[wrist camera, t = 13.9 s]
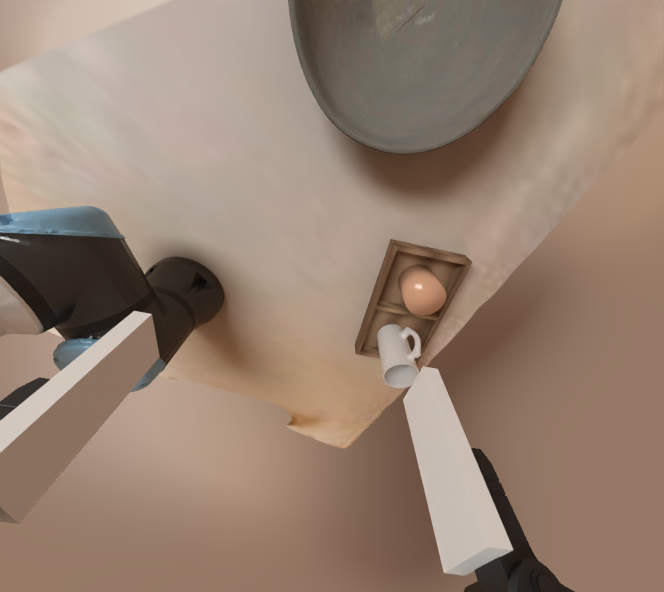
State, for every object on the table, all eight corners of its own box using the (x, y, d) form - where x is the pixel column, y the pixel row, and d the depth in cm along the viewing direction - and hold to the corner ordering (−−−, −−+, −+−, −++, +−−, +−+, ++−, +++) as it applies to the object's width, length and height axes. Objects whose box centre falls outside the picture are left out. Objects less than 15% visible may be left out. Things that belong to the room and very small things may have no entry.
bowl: (324, 167, 41) (319, 174, 32) (274, -99, 27) (243, -207, 19) (497, 130, 38) (543, 127, 29) (536, -195, 24) (642, -377, 16)
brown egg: (392, 291, 52) (399, 311, 46) (404, 260, 48) (413, 277, 42) (425, 298, 52) (436, 318, 46) (439, 268, 49) (453, 286, 43)
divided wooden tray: (354, 344, 60) (355, 353, 58) (390, 239, 47) (393, 245, 44) (413, 354, 61) (416, 364, 59) (465, 255, 48) (472, 262, 45)
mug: (392, 350, 60) (403, 393, 50) (369, 337, 58) (375, 379, 48) (422, 321, 55) (440, 362, 45) (398, 307, 54) (411, 346, 43)
